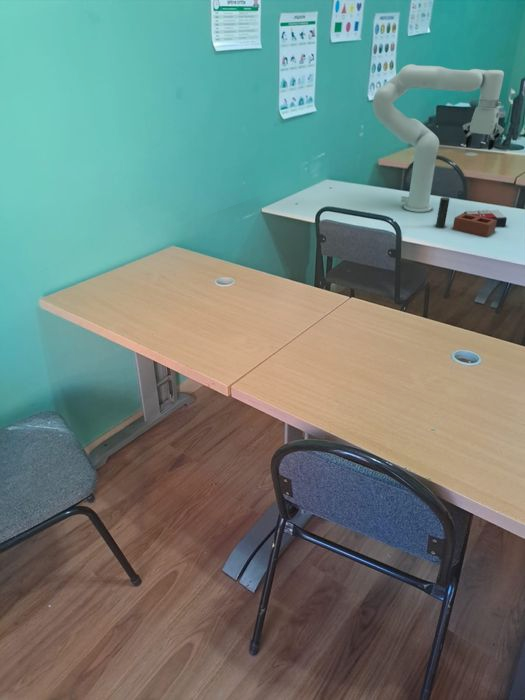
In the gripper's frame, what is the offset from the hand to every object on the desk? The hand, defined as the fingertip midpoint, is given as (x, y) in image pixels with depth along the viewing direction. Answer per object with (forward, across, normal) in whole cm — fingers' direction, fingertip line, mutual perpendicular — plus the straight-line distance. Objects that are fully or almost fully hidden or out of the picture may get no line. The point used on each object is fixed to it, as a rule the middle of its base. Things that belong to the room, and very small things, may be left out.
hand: (478, 147), depth 221 cm
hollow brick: (+28, -12, +21) cm, 37 cm away
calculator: (+28, -12, +8) cm, 32 cm away
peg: (+28, 0, +25) cm, 38 cm away
